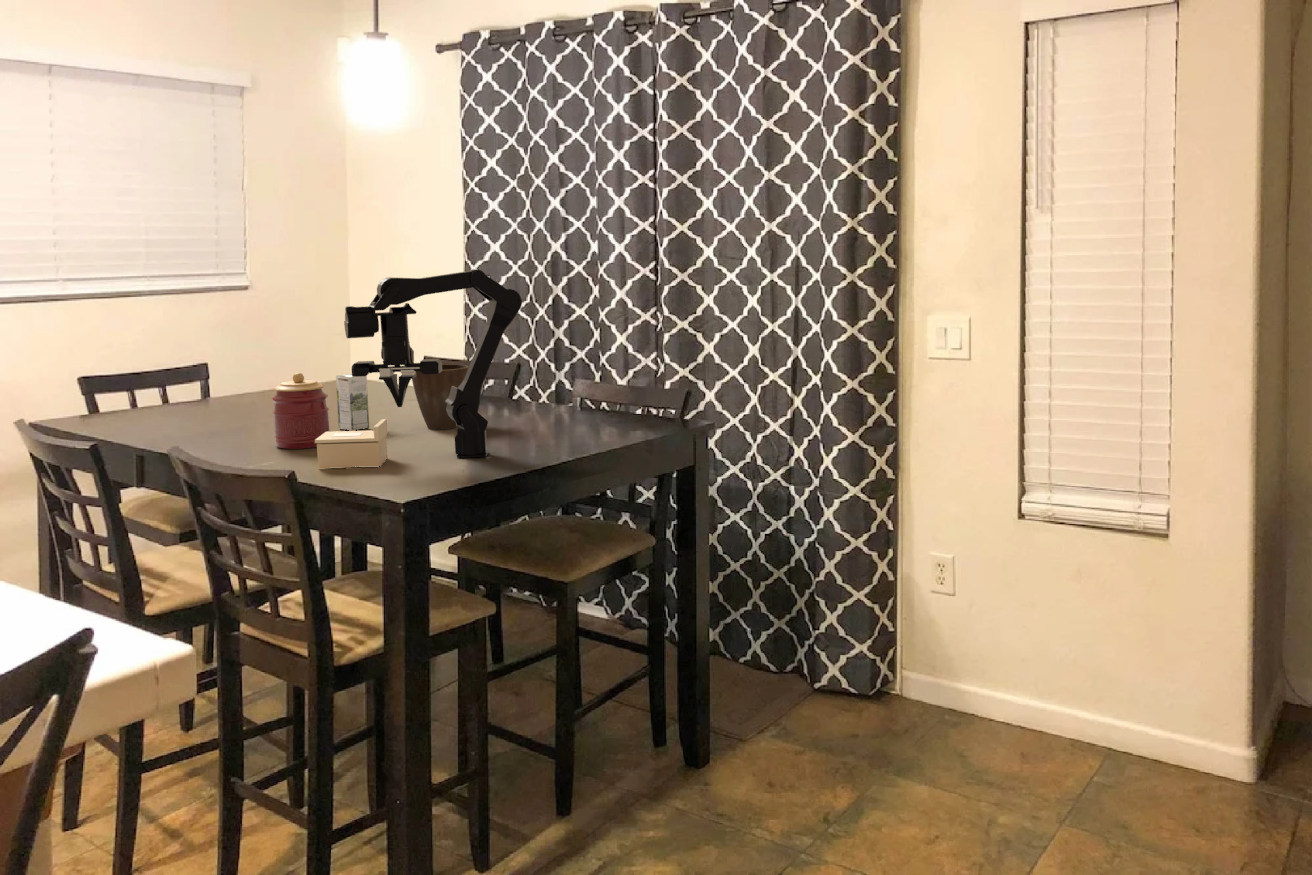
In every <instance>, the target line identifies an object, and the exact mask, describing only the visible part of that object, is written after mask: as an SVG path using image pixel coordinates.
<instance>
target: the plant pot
mask: <svg viewBox="0 0 1312 875" xmlns="http://www.w3.org/2000/svg"><path fill="white" fill-rule="evenodd" d="M468 368H469V365H465V364H456V363H455V364H452V363H451V364H450V363H447V364H446V363H444V364H443V363H442V372H440V373H439V374H423V373H422V372H421V371H416V372H415V373H416V377H414V378H413V379H411V382H412V385H413V390H414V394H415V398H416V401H417V403H418V408H419V410H420V413H421V415H422V419H423V420H424V423H425V425H426V427H427V429H429V430H450V429H455V428H457V427H458V426H457V424H456V422H455V421H454V420H453V419H451V418H450V417H449V416H448V413H447V411H446V406H447V403H446V402H445V401H446V399H447V398H448V397H449V394H450V390H451V387H452V386H454V387H456V388H458V387H459V386H460V384H461V383H462V382H463V380H464V378H465V375H466V373H467V371H468Z"/></svg>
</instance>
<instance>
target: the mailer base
mask: <svg viewBox="0 0 1312 875" xmlns="http://www.w3.org/2000/svg"><path fill="white" fill-rule="evenodd" d="M387 442H388V441H387V434H386V435H385V436H384V437H383V438H382V439H381V440H380V441H372V442H339V443H318V444H317V447H316V452H317V453H316V454H317V465H318V469H319V468H330V467H355V466H356V467H357V466H358V467H359V466H380V467H381V466H382V465H383V464H384V463H385V462H386V461H387V460H388V459H387V458H388V443H387ZM386 459H387V460H386ZM385 460H386V461H385ZM383 462H384V463H383ZM382 463H383V464H382Z"/></svg>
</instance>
